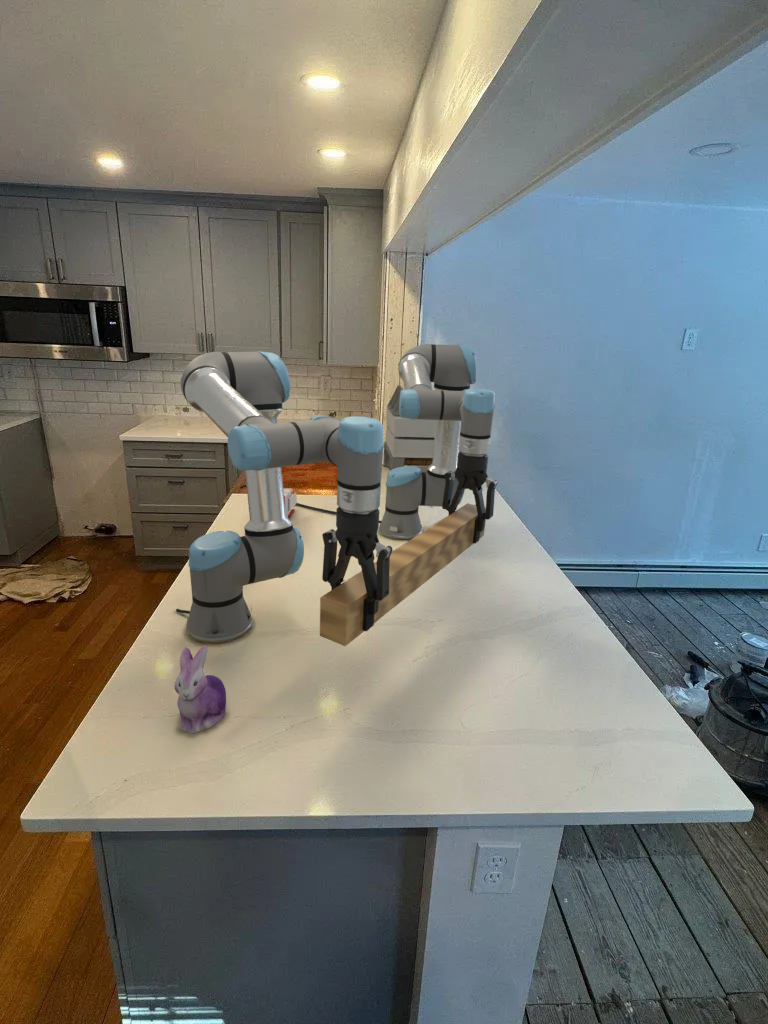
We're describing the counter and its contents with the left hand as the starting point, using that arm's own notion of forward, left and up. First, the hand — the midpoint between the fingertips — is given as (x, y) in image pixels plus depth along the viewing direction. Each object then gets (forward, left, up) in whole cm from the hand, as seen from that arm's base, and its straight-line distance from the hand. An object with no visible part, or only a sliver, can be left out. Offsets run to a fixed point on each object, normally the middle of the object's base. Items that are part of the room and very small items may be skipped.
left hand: (353, 622), depth 107 cm
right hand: (-5, +51, 0) cm, 51 cm away
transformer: (-85, +151, -19) cm, 174 cm away
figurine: (-19, -21, -19) cm, 34 cm away
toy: (-86, +60, -19) cm, 107 cm away
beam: (-3, +25, -1) cm, 26 cm away
